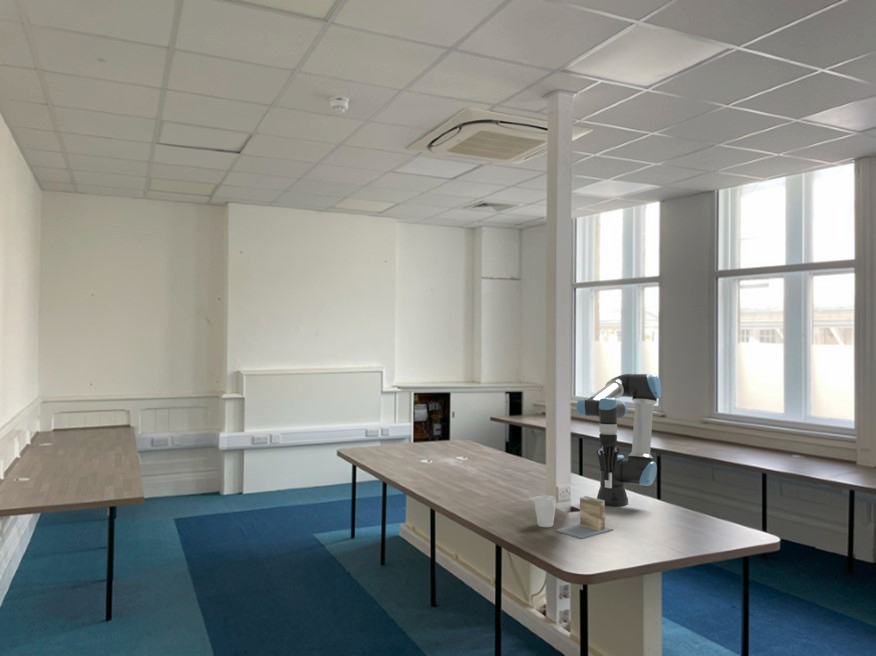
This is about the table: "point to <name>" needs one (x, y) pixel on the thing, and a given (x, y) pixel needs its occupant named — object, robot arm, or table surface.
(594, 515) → the slab
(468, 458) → the table surface
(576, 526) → the mat
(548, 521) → the white tapered cylinder
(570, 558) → the table surface
